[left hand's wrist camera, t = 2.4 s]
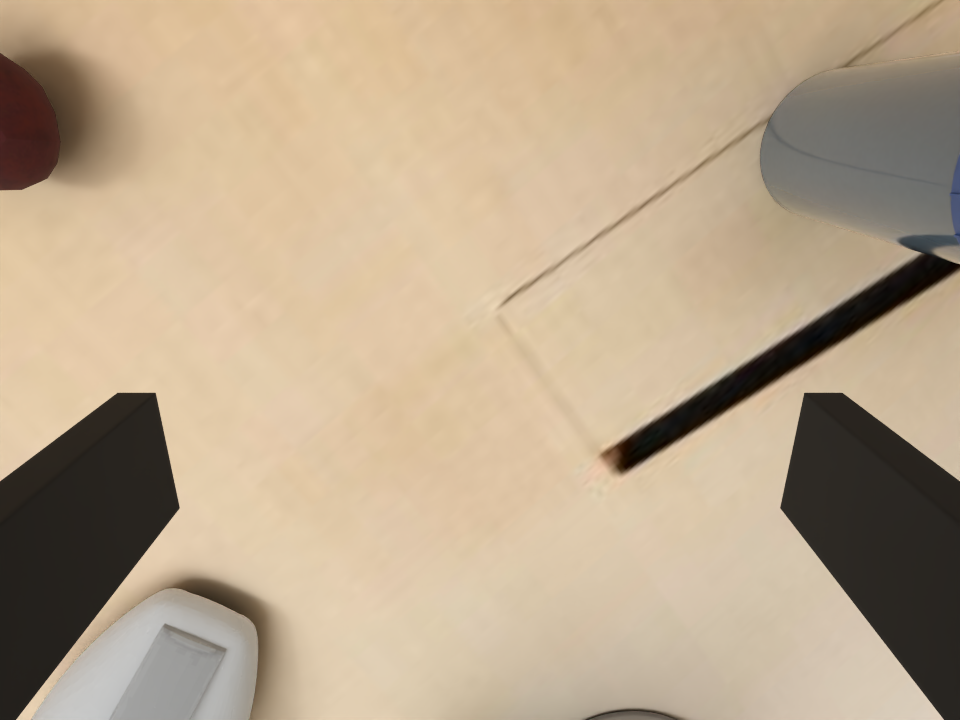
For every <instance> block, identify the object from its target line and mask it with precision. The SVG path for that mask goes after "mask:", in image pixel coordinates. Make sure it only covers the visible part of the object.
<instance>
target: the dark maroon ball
mask: <svg viewBox="0 0 960 720" xmlns="http://www.w3.org/2000/svg"><path fill="white" fill-rule="evenodd" d="M59 148H60V137H59V132H58V126H57V121H56V115H55V112H54V110H53V108H52V106H51V104H50V102H49V100H48V98H47V96H46V94H45V92H44V90H43V88H42V86H41V85H40V84H39V83H38V82H37V81H36V80H35V79H34V78H33V77H32V76H31V75H30V74H29V73H28V72H27V71H26V70H25V69H23V68H22V67H20V66H19V65H17V64H16V63H14V62H13V61H11V60H10V59H8V58H7V57H5V56H4V55H2V54H1V53H0V190H22V189H25V188H27V187H29V186H32V185H34V184H36V183H38V182H41V181H43V180H45V179H47V178H48V177H49V175H50V173H51V172H52V170H53V169H54V167H55V166H56V164H57V161H58V155H59Z"/></svg>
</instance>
